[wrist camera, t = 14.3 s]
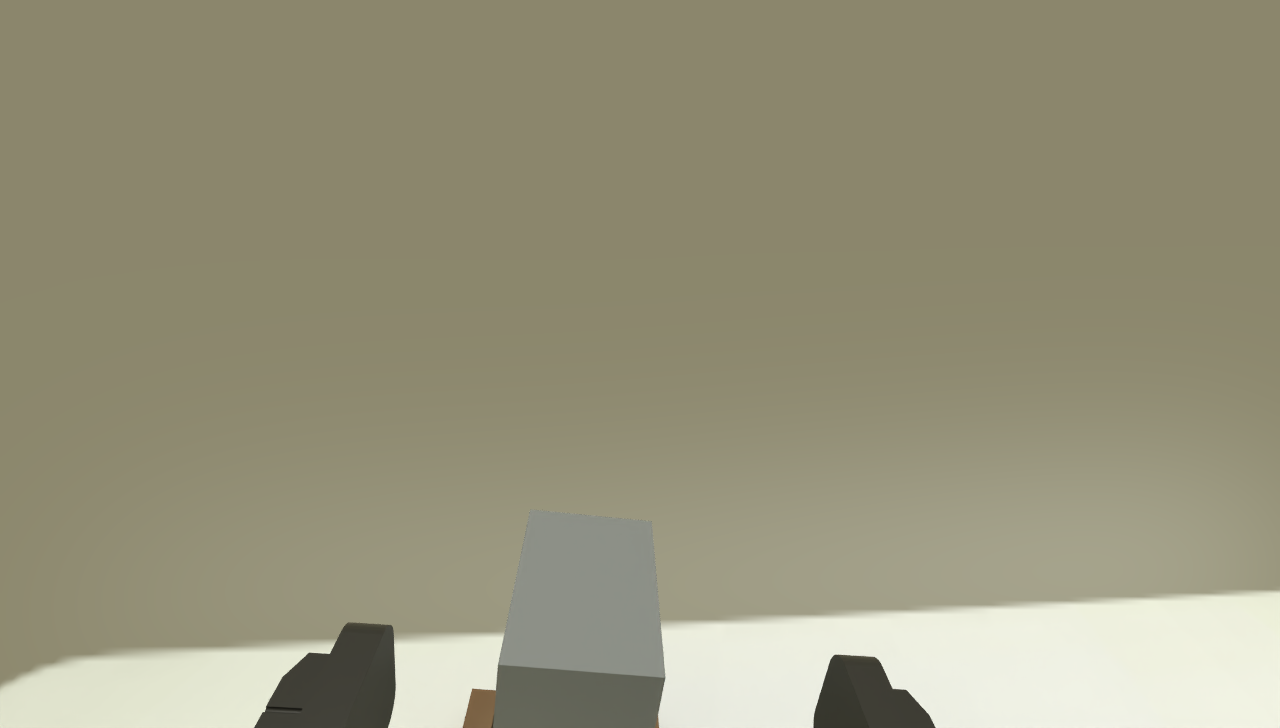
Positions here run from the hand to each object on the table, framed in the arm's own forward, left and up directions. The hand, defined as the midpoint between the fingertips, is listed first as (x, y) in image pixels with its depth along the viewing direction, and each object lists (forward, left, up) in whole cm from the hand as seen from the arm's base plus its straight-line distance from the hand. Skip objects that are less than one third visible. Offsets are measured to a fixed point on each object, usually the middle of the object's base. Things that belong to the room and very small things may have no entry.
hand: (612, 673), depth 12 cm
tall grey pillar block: (-5, -9, -18) cm, 21 cm away
